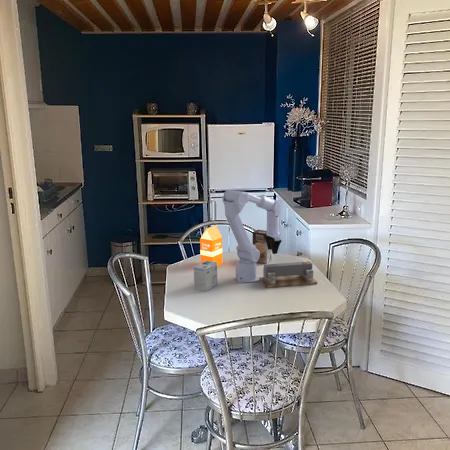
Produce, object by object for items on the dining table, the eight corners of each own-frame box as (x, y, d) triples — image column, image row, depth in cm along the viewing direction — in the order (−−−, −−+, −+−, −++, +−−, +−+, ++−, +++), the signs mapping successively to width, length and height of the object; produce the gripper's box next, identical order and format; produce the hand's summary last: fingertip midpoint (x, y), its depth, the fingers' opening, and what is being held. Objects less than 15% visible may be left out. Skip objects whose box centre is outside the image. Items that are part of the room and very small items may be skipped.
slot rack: (266, 288, 211) (266, 275, 210) (259, 279, 222) (259, 267, 221) (317, 284, 216) (317, 271, 214) (307, 275, 227) (308, 263, 226)
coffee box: (251, 261, 250) (251, 231, 246) (257, 258, 255) (257, 229, 251) (267, 264, 245) (267, 234, 241) (272, 260, 250) (273, 231, 247)
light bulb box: (205, 282, 220) (204, 259, 217) (218, 284, 217) (217, 261, 214) (193, 289, 210) (193, 266, 208) (207, 292, 208) (206, 268, 205)
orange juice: (200, 265, 243) (199, 227, 239) (210, 261, 251) (210, 224, 246) (212, 268, 239) (212, 229, 235) (222, 263, 246) (222, 226, 242)
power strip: (266, 277, 214) (266, 265, 213) (263, 275, 218) (263, 263, 216) (312, 273, 219) (312, 262, 217) (309, 271, 222) (309, 260, 221)
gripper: (285, 227, 221) (285, 255, 224) (276, 220, 235) (275, 247, 238) (271, 228, 220) (270, 256, 223) (262, 221, 234) (262, 247, 237)
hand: (272, 251), depth 230 cm, fingers open, 7 cm apart
